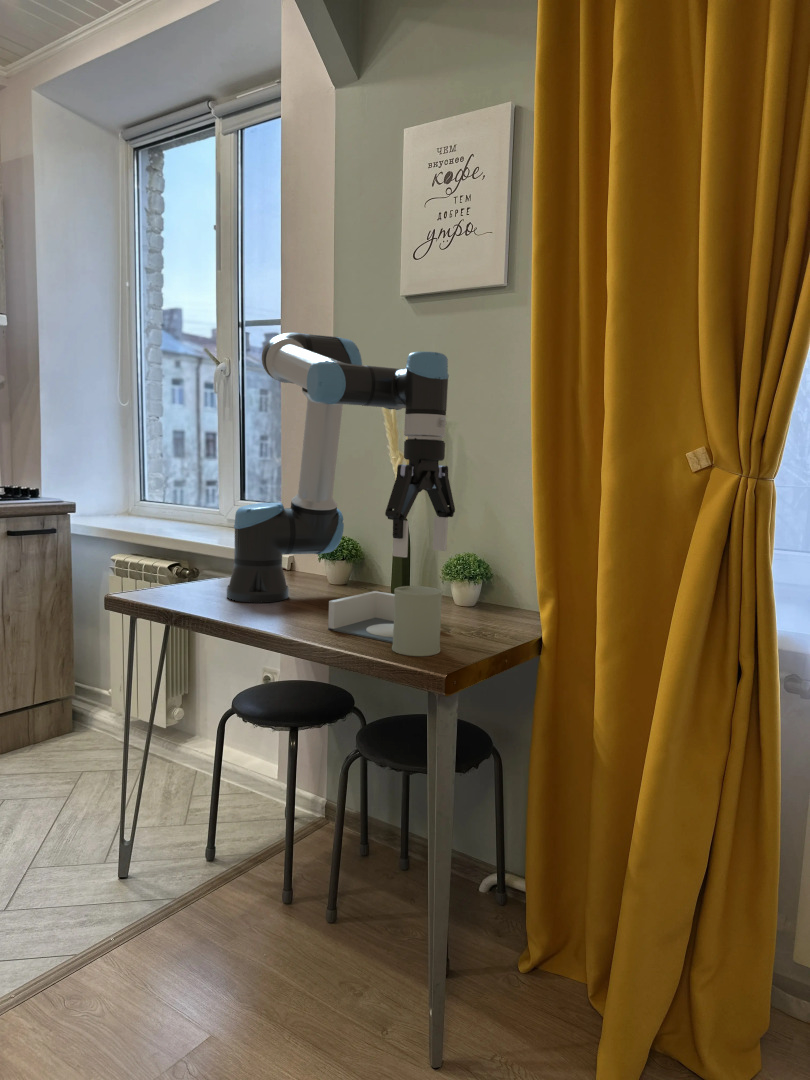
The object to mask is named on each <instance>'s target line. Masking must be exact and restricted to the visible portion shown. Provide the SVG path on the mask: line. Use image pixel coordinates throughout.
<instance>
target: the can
mask: <svg viewBox="0 0 810 1080" xmlns="http://www.w3.org/2000/svg"><path fill="white" fill-rule="evenodd" d="M393 594H395V597H394V629H393V643H392V646H391V651H392V652H394V653H396V654H399V655H402V656H409V657H429V656H435V655H437V654H439V653H440V652H441V619H442V605H443V604H442V602H443V590H442V589H439V588H437V587H431V586H422V585H421V586H420V585H403V586H398V587H395V588H394V593H393Z"/></svg>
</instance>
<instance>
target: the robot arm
mask: <svg viewBox="0 0 810 1080" xmlns="http://www.w3.org/2000/svg"><path fill="white" fill-rule="evenodd" d="M406 359H407V360H406V365H405V367H403V368H394V367H385V366H374V365H373V366H372V365H364V364H363V360H362V355H361V352H360V349H359V347H358V346H357V344H356V343H355V342H354V341H353V340H351V339H348V338H343V337H338V336H329V335H320V334H311V333H310V334H308V333H301V332H285V333H281V334H278V335H275V336H274V337H272V338H271V339H269V341H267V343H266V344H265V345H264V347H263V350H262V353H261V362H262V363H261V364H262V366H263V370H264V371H265V372H266V373H267V375H268V376H270V378H272V379H274V380H276V381H278V382H280V383H284V384H286V383H287V384H295V385H297V386H299V387H301V392H302V393H303V395H304V396H305V397H306V399H307V402H306V409H305V410H306V411H305V421H304V433H303V440H302V441H303V442H302V451H301V460H300V461H301V463H300V472H299V482H298V492H297V494H296V495H294V497H292V498H291V500H290V501H291V502H290V507H289V508H288V507H286V508H285V506H284V504H283V503H282V502H278V501H277V502H275V501H274V502H273V501H272V502H260V503H252V504H247V505H243V506H240V507H238V509H236V511H235V514H234V515H235V517H234V524H233V528H234V551H233V552H234V556H233V557H234V564H233V569H232V573H231V576H230V580H229V584H228V585H227V587H226V598H227V597H228V598H229V600H231V599H232V601H234V600H235V602H242V603H275V602H280V601H281V602H282V601H284V600H286V599H288V598H289V593H290V592H289V586H288V585H287V582H286V577H285V573H284V570H283V556H285V555H321V554H327V553H331V552H334V551H335V550H336V549H337V548H338V547H339V544H340V543H341V540H342V538H343V535H344V529H345V528H344V526H345V523H344V515H343V512H342V511H341V510H340V509H339V508H338V503H337V502H336V500H335V499H334V498H333V493H334V492H333V491H334V483H335V476H336V468H337V458H338V449H339V439H340V432H341V431H340V430H341V422H342V416H343V415H342V414H343V405H347V406H348V405H349V406H350V405H351V406H362V407H363V406H364V407H376V408H384V409H387V410H396V411H398V410H402V409H405V411H404V412H405V414H404V430H403V432H404V433H403V435H404V436H405V437H407V439H405V441H403V458H404V459H405V460H406V461H407V460H408V464H401V463H400V464H398V465H397V468H396V478H395V480H394V484H393V486H392V490H391V493H390V497H389V500H388V502H387V506H386V509H385V513H384V514H385V517H387V520H392V557H397V558H408V552H409V550H408V549H409V548H408V547H409V524H410V523H409V522H410V521H409V520H406V519H407V517H408V515H409V513H410V511H411V510H412V506H414V503H415V501H416V499H417V497H418V494H419V493H421V492H422V491H426V492H427V495H428V497H429V499H430V500H429V501H430V502H431V504H432V507H433V509H434V512H435V514H436V515H437V516H433V527H432V528H433V529H432V530H433V531H432V532H433V533H432V536H433V537H432V551H438V552H447V547H448V544H447V543H448V526H449V525H448V524H449V518H453V517H454V515H455V512H456V508H455V503H454V497H453V493H452V488H451V484H450V483H451V482H450V480H449V479H450V478H449V467H448V466H449V465H440V464H439V462H442V461H444V460H445V457H446V455H445V454H446V451H445V450H446V442H445V441H444V440H443V438H445V437H446V425H447V419H446V417H447V408H448V405H447V404H448V389H449V387H448V384H449V376H450V375H449V369H448V367H449V365H448V364H449V362H448V361H449V360H448V357H447V356H446V355H445V354H444V353H441V352H437V351H414V352H410V353H409V354H408V356H407V358H406ZM228 598H227V599H228Z"/></svg>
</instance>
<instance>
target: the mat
mask: <svg viewBox="0 0 810 1080" xmlns="http://www.w3.org/2000/svg"><path fill="white" fill-rule="evenodd" d="M393 629H394V621H391V620H385V619H380V618H372V619H368V620H365V621H361V622H357V623H353V624H350V625H346V626H342V627H339V628H335V629H332V630H331V629H328V628H327V630H329V631H333V632H338V633H343V634H348V635H353V636H358V637H362V638H367V639H371V640H377V641H381V642H385V643H391V644H393Z"/></svg>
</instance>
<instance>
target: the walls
mask: <svg viewBox="0 0 810 1080" xmlns="http://www.w3.org/2000/svg"><path fill="white" fill-rule="evenodd" d="M394 597H395V593H389V592H382V591H377V590H373V591H369V592H364V593H359V594H355V595H351V596H350V595H349V596H346V597H340V598H337V599H332V600H329V601H328V624H327V625H328V626H327V630H328V629H331V630H330V631H333V630H332V629H335V628H339V627H342V626H346V625H350V624H353V623H357V622H361V621H365V620H368V619H372V618H380V619H385V620H391V621H394Z"/></svg>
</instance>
